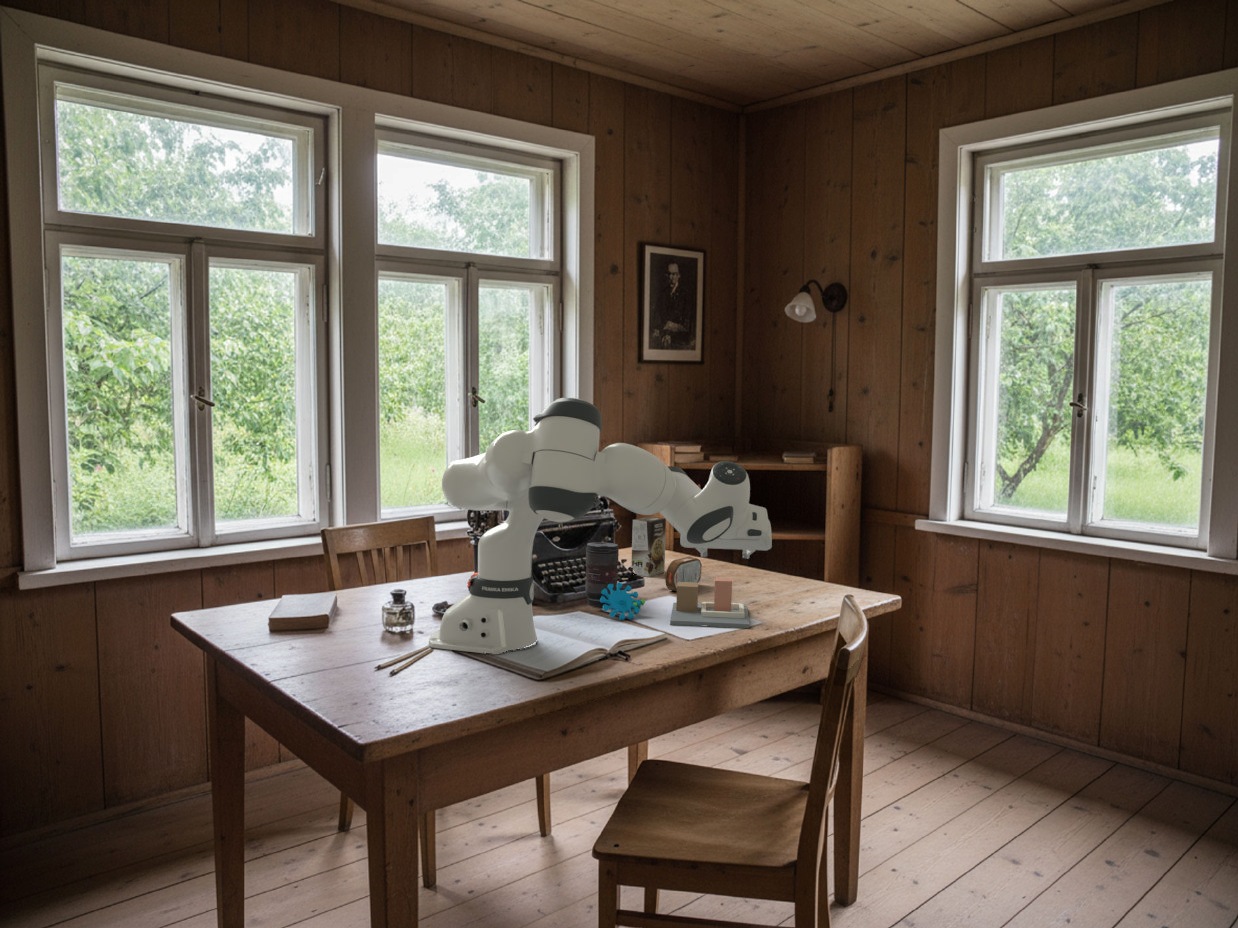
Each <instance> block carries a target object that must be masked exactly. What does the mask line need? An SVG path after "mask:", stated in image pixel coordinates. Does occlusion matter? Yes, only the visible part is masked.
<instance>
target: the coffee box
mask: <svg viewBox="0 0 1238 928" xmlns="http://www.w3.org/2000/svg"><path fill="white" fill-rule="evenodd" d="M666 525H667V520H666V519H665V518H664V517H655V516H653V517H652V516H645V517H642V518H641V517H640V518H635V519H632V531H631V532H632V533H631V534H632V535H631V537H632V538H631V539H632V540H631V542H632V543H631V562H630V564H631V566H630V567H631V568H633V570H634V571H635V574H637V575H636V576H641V577H646V578H649V577H653V576H656V575H659V574H663V572H664V573H665V567H666V566H665V565H666V564H665V563H666V560H665V559H666V527H667V526H666ZM631 568H630V569H631Z"/></svg>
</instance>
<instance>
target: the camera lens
mask: <svg viewBox="0 0 1238 928" xmlns="http://www.w3.org/2000/svg"><path fill="white" fill-rule="evenodd" d="M619 550H620V549H619V545H618V544H617V543H613V542H600V541H599V542H597V541H596V542H595V541H594V542H589V543H587V545H586V548H585V551H586V552H585V567H586V572H585V589H584V590H585V596H586V598H587V605H589V606H593V607H603V605H605V604H606V605H608V606H610V605H609V604H607V603H601V602H600V598H601V596H604V597H605V598H606V599H607V600H609V599H608V598H607V597H606V596H605V595H603V594H602V593H601V592H602V590H603V589H605V588H606V589H607V592H608V594H611V592H610V590H609V589H608V584H613V585H614V587H613V590H614V591H616V590H617V586H616V585H617V583H618V567H619V557H620V555H619V553H620V552H619Z"/></svg>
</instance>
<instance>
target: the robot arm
mask: <svg viewBox="0 0 1238 928" xmlns="http://www.w3.org/2000/svg"><path fill="white" fill-rule="evenodd" d="M601 413H602V412H601V411H600V410H599V409H598V408H597V406H595V405H594V404H593V403H590V402H589V401H586V400H583V399H581V398H577V397H576V398H575V397H561V398H557V399H555V400H554V401H552V402H550V403H549V404H547V406H545V408H544V409H543V410H542V412H540V414H536V415H534V417H533V418H532V420H533V421H534V422H535V424H534V427H533V428H532V429H531V430H523V429H512V430H507V431H505V432H503V433H502V434H500V435H498V436H497V437H496V438H494V440H492V442H491V443H490V444H489V446H488V448H487V450H486V451H484V452H482V453H480V454H477V455H473V456H470V457H466V458H461V459H456V460H452V461H451V463H449V464H448V466H447V467H446V468H445V470H444V472H443V475H442V478H441V479H442V480H441V488H442V492H443V495H444V497H445V500H446V501H447V502H448V503H449V504H450V506H452V507H454V508H459V509H464V510H469V511H507V512H508V516H507V517H506V519H505V520H504V521H503V522H502V523H500V524H498V525H496V526H494V527H492V528H490V529H487V531H485V532H484V533H483V534H482V535H481V537H480V538H479V540H478V545H477V572H473V574H471V576H470V578H469V579H468V581H467V582H466V583H467V586H466V587H467V588H468V593H467V594H465V595H464V596H463V597H461V598H460V599H459V600H458V601H456V602H454V603H453V604H452V605H451V606H449V607H448V609H446V611H444V614H443V616H442V618H441V622H440V627H439V630H436V631H435V632H434V633H432V634H431V635H430V637H429V639H428V645H429V647H430V648H433V649H434V648H435V649H443V650H453V651H461V652H471V653H479V654H486V653H492V654H491V655H500V654H503V653H502V652H504V653H507V652H509V651H508V650H513V651H516V650H515V649H518V648H524V647H526V646H529V645H531V644H533V643H534V642H536V640H537V639H538V636H537V632H536V628H535V621H534V615H533V604H532V603H533V601H534V586H535V585H534V584H535V583H534V576H533V575H532V558H533V547H534V546H533V545H534V540H535V537H536V533H537V531H538V528H539V526H540V525H541V523H542V522H543V520H547V521H551V522H556V523H565V522H570V521H576V520H578V519H580V518H582V517H583V516H585V515H587V513H589V511H591V509H594V508H597V507H599V505H600V500H599V499H597V497H599V496H600V497H606V498H608V499H610V500H612V501H614V503H616V504H618V505H619V506H621V507H622V508H625V509H626V510H628V511H630V512H633V513H634V514H638V515H642V516H653V515H656V514H658V513H659V514H660V515H661V516H662V518H665V519H666V522H668V523H669V524H670V525H671V526H672V527H673V528H674V529H675V530H676V531H677V533H679V534H680V538H679V539H680V540H679V541H680V542H679V543H680V546H681V547H683V548H689V549H690V548H691V549H695V550H697V552H699V553H700V557H701V558H706V557H707V558H708V549H714V550H715V549H716V550H718V549H719V550H720V549H721V550H738V551H739V550H740V551H741V550H742V559H748V560H749V559H750V555H753V553H754V552H755V553H756V551H764V552H765V551H769V550H771V549H772V547H773V545H772V544H773V543H772V542H773V541H772V540H773V538H772V535H773V534H772V526H771V521H770V519H769V516H768V515H769V514H768V510H767V508H766V507H763V506H759V505H757V504H756V505H755V504H751V503H750V497H751V492H750V491H751V484H750V483H751V482H750V478H749V474H748V473H747V470H745V469H744V468H743V466H741V465H740V464H738V463H736V462H733V461H730V460H728V461H726V460H725V461H719V462H717V463H716V464H714V465H713V466H712V468H711V471H710V474H709V477H708V481H707V483H706V484H705V485H704V487H703V488H700V487H699V486H698V485H697V484H696V483H695V482H694V481H693V480H692V479H691V478H690V477H689V476H688V474H687V473H686V472H685V471H684V470H683V469H682V468H681V467H679V466H675V465H673V466H672V465H671V466H668V465H667V464H666V463H665V462H664V461H663V460H662V459H660V458H659V457H658V456H656V454H655V455H654V454H653V453H651V452H649V451H648V450H646V449H644V448H641V447H639V446H637V445H634V444H629V443H625V442H616V443H613V444H612V443H611V444H609V445H608V446H605V448H603V449H602V450H601V451H599V449H600V436H601V434H600V433H601V432H602V430H603V428H602V427H603V424H602V422H603V421H602V414H601ZM506 651H507V652H506ZM483 652H484V653H483ZM485 652H486V653H485ZM499 653H500V654H499Z"/></svg>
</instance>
